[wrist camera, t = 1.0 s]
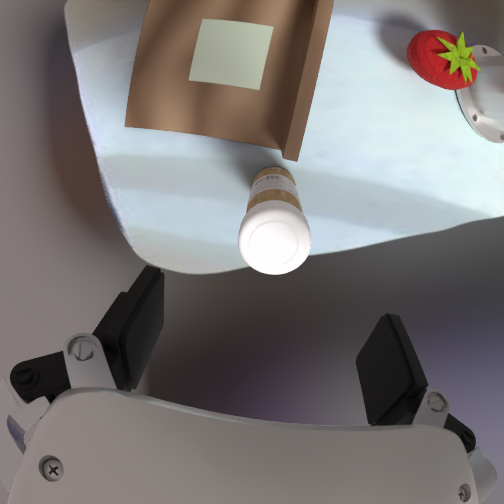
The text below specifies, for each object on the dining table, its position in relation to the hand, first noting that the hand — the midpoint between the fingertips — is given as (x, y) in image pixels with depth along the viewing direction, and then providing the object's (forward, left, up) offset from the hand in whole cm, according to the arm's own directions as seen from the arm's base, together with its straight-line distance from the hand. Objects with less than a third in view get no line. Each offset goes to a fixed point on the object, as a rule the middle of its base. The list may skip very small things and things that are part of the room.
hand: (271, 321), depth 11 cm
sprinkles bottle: (0, 0, -20) cm, 20 cm away
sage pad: (+7, -13, -20) cm, 24 cm away
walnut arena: (+8, -13, -20) cm, 25 cm away
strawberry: (-12, -18, -20) cm, 30 cm away
